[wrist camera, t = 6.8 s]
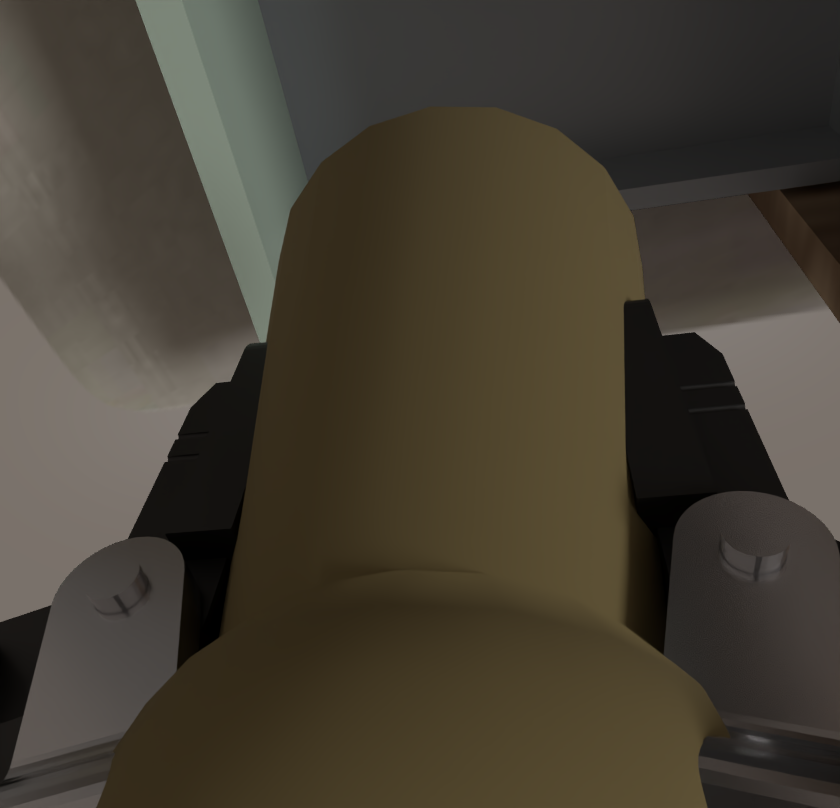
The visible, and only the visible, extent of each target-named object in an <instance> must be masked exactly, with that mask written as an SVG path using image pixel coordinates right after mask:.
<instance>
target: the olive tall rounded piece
mask: <svg viewBox="0 0 840 808" xmlns="http://www.w3.org/2000/svg"><path fill="white" fill-rule="evenodd" d="M642 299H645V294H644V281H643V269H642V263H641V257H640V251H639V245H638V239H637V233H636V227H635V222H634V216H633V214H632V213H631V211H630V209H629V208H628V206H627V204H626V203H625V201H624V199H623V198H622V196H621V194H620V192H619V191H618V189H617V187H616V186H615V184H614V182H613V181H612V179H611V177H610V176H609V174H608V172H607V171H606V169H605V167H604V166H602V165H601V164H600V163H599V162H597V161H596V160H595V159H594V158H592V157H591V156H590V155H589V154H587V153H586V152H585V151H584V150H583V149H581V148H580V147H579V146H578V145H576V144H575V143H574V142H573V141H571V140H570V139H569V138H568V137H566V136H565V135H564V134H563V133H561V132H560V131H559V130H558V129H556V128H553V127H550V126H547V125H545V124H542V123H539V122H536V121H533V120H530V119H528V118H525V117H522V116H519V115H516V114H513V113H511V112H508V111H505V110H502V109H499V108H497V107H432V106H430V107H427V108H424V109H421V110H418V111H415V112H412V113H409V114H406V115H402V116H399V117H396V118H393V119H390V120H387V121H384V122H381V123H377V124H374V125H371V126H369V127H368V128H366V129H365V130H364V131H362V132H361V133H360V134H358V135H357V136H356V137H354V138H353V139H352V140H350V141H349V142H348V143H346V144H345V145H344V146H342V147H341V148H340V149H338V150H337V151H336V152H334V153H333V154H332V155H330V156H329V157H328V158H326V159H325V160H324V161H322V162H321V163H320V165H319V166H318V168H317V169H316V171H315V172H314V174H313V176H312V177H311V179H310V180H309V182H308V183H307V185H306V186H305V188H304V189H303V191H302V192H301V194H300V195H299V197H298V198H297V200H296V201H295V203H294V205H293V206H292V208H291V209H290V213H289V218H288V222H287V227H286V231H285V235H284V240H283V244H282V249H281V253H280V258H279V263H278V269H277V275H276V282H275V288H274V294H273V300H272V307H271V313H270V319H269V325H268V332H267V338H266V342H268V344H267V351H266V358H265V365H264V371H263V378H262V384H261V391H260V398H259V404H258V411H257V418H256V424H255V431H254V438H253V444H252V451H251V457H250V464H249V471H248V477H247V484H246V490H245V495H244V501H243V507H242V513H241V518H240V524H239V530H238V536H237V541H236V545H235V549H234V553H233V557H232V561H231V565H230V571H229V576H228V582H227V589H226V595H225V601H224V607H223V614H222V620H221V626H220V632H219V638H218V639H216V640H215V641H213V642H212V643H210V644H209V645H208V646H206V647H205V648H203V649H202V650H200V651H199V652H197V653H196V654H194V655H193V656H191V657H190V658H189V659H188V660H187V661H186V662H185V663H184V664H183V665H182V666H181V667H180V668H179V669H178V670H177V671H176V672H175V673H174V675H173V676H172V677H171V678H170V679H169V680H168V681H167V682H166V683H165V684H164V685H163V686H162V687H161V688H160V689H159V690H158V691H157V692H156V693H155V694H154V695H153V697H152V698H151V699H150V700H149V701H148V702H147V703H146V704H145V706H144V707H143V708H142V710H141V711H140V713H139V714H138V716H137V717H136V719H135V720H134V721H133V723H132V724H131V726H130V727H129V729H128V730H127V732H126V733H125V734H124V736H123V737H122V739H121V740H120V742H119V743H118V745H117V746H116V747H115V749H114V750H113V752H115V755H114V757H113V759H112V763H111V768H110V772H109V775H108V778H107V781H106V784H105V787H104V789H103V792H102V795H101V797H100V799H99V802H98V804H97V807H96V808H708V807H707V803H706V800H705V796H704V792H703V788H702V784H701V779H700V774H699V768H698V755H699V752H700V748H701V746H702V744H703V740H704V739H705V738H706V737H707V736H712V735H715V736H721V737H726V738H730V735H729V733H728V730H727V728H726V726H725V724H724V723H723V721H722V719H721V717H720V715H719V714H718V712H717V710H716V708H715V707H714V705H713V703H712V702H711V700H710V698H709V696H708V695H707V693H706V691H705V690H704V688H703V687H702V686H701V685H700V684H699V683H698V682H697V681H696V680H695V679H693V678H692V677H691V676H690V675H688V674H687V673H686V672H685V671H683V670H682V669H681V668H680V667H678V666H677V665H676V664H675V663H673V662H672V661H671V660H669V659H668V658H666V657H665V656H664V644H665V632H666V620H667V606H666V598H665V590H664V582H663V575H662V567H661V559H660V552H659V547H658V542H657V538H656V537H655V536H654V535H653V533H652V532H651V531H650V529H649V528H648V527H647V525H646V524H645V523H644V522H643V520H642V519H641V518H640V516H639V515H638V514H637V510H636V505H635V499H634V493H633V488H632V482H631V477H630V471H629V465H628V460H627V454H626V445H625V371H624V303H625V302H626V301H633V300H642ZM113 752H112V753H113Z"/></svg>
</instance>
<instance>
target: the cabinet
mask: <svg viewBox="0 0 840 808" xmlns="http://www.w3.org/2000/svg"><path fill="white" fill-rule="evenodd" d="M748 195H749V196H750V198H751V199H752V201H753V202H754V203H755V205H756V206H757V208H758V209H759V210H760V212H761V213H762V215H763V216H764V217H765V219H766V220H767V222H768V223H769V224H770V226H771V227H772V229H773V230H774V231H775V233H776V234H777V236H778V237H779V238H780V240H781V241H782V243H783V244H784V245H785V247H786V248H787V250H788V251H789V252H790V254H791V255H792V257H793V258H794V259H795V261H796V262H797V264H798V265H799V266H800V268H801V269H802V271H803V272H804V273H805V275H806V276H807V278H808V279H809V280H810V282H811V283H812V285H813V286H814V288H815V289H816V290H817V292H818V293H819V295H820V296H821V297H822V299H823V300H824V302H825V303H826V304H827V306H828V307H829V309H830V310H831V311H832V313H833V314H834V316H835V317H836V318H837V320H838V321H839V323H840V181H837V182H830V183H823V184H816V185H809V186H802V187H794V188H787V189H780V190H773V191H766V192H759V193H752V194H748Z"/></svg>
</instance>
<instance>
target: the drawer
mask: <svg viewBox="0 0 840 808" xmlns="http://www.w3.org/2000/svg"><path fill="white" fill-rule="evenodd" d="M136 3H137V6H138V9H139V11H140V14H141V17H142V20H143V22H144V25H145V28H146V31H147V33H148V36H149V39H150V42H151V44H152V47H153V50H154V53H155V55H156V58H157V61H158V64H159V66H160V69H161V72H162V75H163V77H164V80H165V83H166V86H167V88H168V91H169V94H170V97H171V99H172V102H173V105H174V108H175V110H176V113H177V116H178V119H179V121H180V124H181V127H182V130H183V132H184V135H185V138H186V141H187V143H188V146H189V149H190V152H191V154H192V157H193V160H194V163H195V165H196V168H197V171H198V173H199V176H200V179H201V182H202V184H203V187H204V190H205V193H206V195H207V198H208V201H209V204H210V206H211V209H212V212H213V215H214V217H215V220H216V223H217V226H218V228H219V231H220V234H221V237H222V239H223V242H224V245H225V248H226V250H227V253H228V256H229V259H230V261H231V264H232V267H233V270H234V272H235V275H236V278H237V281H238V283H239V286H240V289H241V292H242V294H243V297H244V300H245V303H246V305H247V308H248V311H249V314H250V316H251V319H252V322H253V325H254V327H255V330H256V333H257V336H258V338H259V341H260V343H263V342H266V338H267V332H268V325H269V319H270V313H271V307H272V300H273V294H274V288H275V282H276V275H277V269H278V263H279V258H280V253H281V249H282V244H283V240H284V235H285V231H286V227H287V222H288V218H289V213H290V209H291V208H292V206H293V205H294V203H295V201H296V200H297V198H298V197H299V195H300V194H301V192H302V191H303V189H304V188H305V186H306V185H307V183H308V182H309V180H310V179H311V177H312V176H313V174H314V172H315V171H316V169H317V168H318V166H319V165H320V163H321V162H322V161H324V160H325V159H326V158H328V157H329V156H330V155H332V154H333V153H334V152H336V151H337V150H338V149H340V148H341V147H342V146H344V145H345V144H346V143H348V142H349V141H350V140H352V139H353V138H354V137H356V136H357V135H358V134H360V133H361V132H362V131H364V130H365V129H366V128H368V127H369V126H371V125H374V124H377V123H381V122H384V121H387V120H390V119H393V118H396V117H399V116H402V115H406V114H409V113H412V112H415V111H418V110H421V109H424V108H427V107H430V106H432V107H497V108H499V109H502V110H505V111H508V112H511V113H513V114H516V115H519V116H522V117H525V118H528V119H530V120H533V121H536V122H539V123H542V124H545V125H547V126H550V127H553V128H556V129H558V130H559V131H560V132H561V133H563V134H564V135H565V136H566V137H568V138H569V139H570V140H571V141H573V142H574V143H575V144H576V145H578V146H579V147H580V148H581V149H583V150H584V151H585V152H586V153H587V154H589V155H590V156H591V157H592V158H594V159H595V160H596V161H597V162H599V163H600V164H601V165H602V166H604V167H605V169H606V171H607V172H608V174H609V176H610V177H611V179H612V181H613V182H614V184H615V186H616V187H617V189H618V191H619V192H620V194H621V196H622V198H623V199H624V201H625V203H626V204H627V206H628V208H629V209H630V211H631V210H638V209H645V208H652V207H659V206H666V205H673V204H680V203H688V202H695V201H702V200H709V199H716V198H723V197H730V196H737V195H745V194H752V193H759V192H766V191H773V190H780V189H787V188H794V187H802V186H809V185H816V184H823V183H830V182H837V181H840V0H136Z"/></svg>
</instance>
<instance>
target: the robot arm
mask: <svg viewBox="0 0 840 808" xmlns="http://www.w3.org/2000/svg"><path fill="white" fill-rule="evenodd" d="M267 344H268V342H263V343H254V344H249V345H247V346H246V348H245V350H244V352H243V354H242V356H241V359H240V361H239V363H238V366H237V368H236V370H235V373H234V375H233V377H232V379H231V382H223V383H216V384H215V385H214V386H213V387H212V388H211V389H210V390H209V391H207V392H206V393H205V394H204V395H203V396H202V397H201V398H200V399H199V400H198V401H197V402H196V403H195V404H194V405H193V406H192V407H191V408H190V410H189V413H188V415H187V417H186V419H185V421H184V423H183V425H182V427H181V429H180V431H179V433H178V436H179V439H178V440H175V442H174V444H173V446H172V448H171V450H170V452H169V454H168V462H165V463H164V465H163V467H162V469H161V471H160V473H159V475H158V477H157V479H156V481H155V484H154V486H153V488H152V490H151V492H150V494H149V496H148V498H147V500H146V502H145V504H144V506H143V508H142V511H141V513H140V515H139V517H138V519H137V521H136V523H135V525H134V527H133V529H132V531H131V533H130V536H129V538H128V539H126V540H123V541H120V542H117V543H114V544H112V545H109V546H107V547H105V548H103V549H101V550H99V551H98V552H96V553H94V554H93V555H91V556H90V557H89V558H87V559H86V560H84V561H83V562H82V563H81V564H79V565H78V566H77V567H76V568H75V569H74V570H73V571H72V572H71V573H70V574H69V575H68V576H67V577H66V579H65V580H64V581H63V583H62V584H61V585H60V587H59V589H58V591H57V593H56V594H55V597H54V599H53V602H52V605H51V606H48V607H45V608H42V609H39V610H36V611H33V612H30V613H27V614H24V615H21V616H18V617H15V618H12V619H9V620H6V621H3V622H0V808H96V807H97V804H98V802H99V799H100V797H101V795H102V792H103V789H104V787H105V784H106V781H107V778H108V775H109V772H110V768H111V763H112V759H113V757H114V755H115V752H113V750H114V749H115V747H116V746H117V745H118V743H119V742H120V740H121V739H122V737H123V736H124V734H125V733H126V732H127V730H128V729H129V727H130V726H131V724H132V723H133V721H134V720H135V719H136V717H137V716H138V714H139V713H140V711H141V710H142V708H143V707H144V706H145V704H146V703H147V702H148V701H149V700H150V699H151V698H152V697H153V695H154V694H155V693H156V692H157V691H158V690H159V689H160V688H161V687H162V686H163V685H164V684H165V683H166V682H167V681H168V680H169V679H170V678H171V677H172V676H173V675H174V673H175V672H176V671H177V670H178V669H179V668H180V667H181V666H182V665H183V664H184V663H185V662H186V661H187V660H188V659H189V658H190V657H191V656H193V655H194V654H196V653H197V652H199V651H200V650H202V649H203V648H205V647H206V646H208V645H209V644H210V643H212V642H213V641H215V640H216V639H218V638H219V632H220V626H221V620H222V614H223V607H224V601H225V595H226V589H227V582H228V576H229V571H230V565H231V561H232V557H233V553H234V549H235V545H236V541H237V536H238V530H239V524H240V518H241V513H242V507H243V501H244V495H245V490H246V484H247V477H248V471H249V464H250V457H251V451H252V444H253V438H254V431H255V424H256V418H257V411H258V404H259V398H260V391H261V384H262V378H263V371H264V365H265V358H266V351H267ZM624 371H625V445H626V454H627V460H628V465H629V471H630V477H631V482H632V488H633V493H634V499H635V505H636V510H637V514H638V515H639V516H640V518H641V519H642V520H643V522H644V523H645V524H646V525H647V527H648V528H649V529H650V531H651V532H652V533H653V535H654V536H655V537H656V538H657V542H658V547H659V552H660V559H661V567H662V575H663V582H664V590H665V598H666V606H667V620H666V632H665V644H664V656H665V657H666V658H668V659H669V660H671V661H672V662H673V663H675V664H676V665H677V666H678V667H680V668H681V669H682V670H683V671H685V672H686V673H687V674H688V675H690V676H691V677H692V678H693V679H695V680H696V681H697V682H698V683H699V684H700V685H701V686H702V687H703V688H704V690H705V691H706V693H707V695H708V696H709V698H710V700H711V702H712V703H713V705H714V707H715V708H716V710H717V712H718V714H719V715H720V717H721V719H722V721H723V723H724V724H725V726H726V728H727V730H728V733H729V735H730V738H726V737H721V736H715V735H712V736H707V737H706V738H705V739H704V740H703V744H702V746H701V748H700V752H699V755H698V768H699V774H700V779H701V784H702V788H703V792H704V796H705V800H706V803H707V807H708V808H840V542H839V541H837V540H835V539H834V537H833V535H832V534H831V532H830V531H829V530H828V528H827V527H826V526H825V524H824V523H823V522H821V521H820V520H819V519H818V518H817V517H816V516H815V515H814V514H812V513H811V512H809V511H807V510H806V509H805V508H803V507H801V506H799V505H797V504H796V503H794V502H792V501H789V499H788V497H787V496H786V493H785V491H784V489H783V487H782V485H781V482H780V480H779V478H778V476H777V473H776V471H775V469H774V467H773V465H772V462H771V460H770V458H769V456H768V454H767V451H766V449H765V447H764V445H763V442H762V440H761V438H760V436H759V434H758V432H757V429H756V427H755V425H754V423H753V421H752V418H751V416H750V414H749V412H748V410H747V409H745V403H744V401H743V399H742V396H741V394H740V392H739V390H738V388H737V386H735V383H734V379H733V376H732V374H731V372H730V370H729V367H728V365H727V363H726V361H725V359H724V356H723V354H722V353H721V352H719V351H718V350H717V349H715V348H714V347H713V346H712V345H710V344H709V343H708V342H706V341H705V340H704V339H703V338H701V337H700V336H699V335H697V334H696V333H695V332H693V333H684V334H675V335H665V336H662V334H661V331H660V328H659V326H658V323H657V320H656V317H655V314H654V311H653V309H652V306H651V303H650V301H649V300H648V299H642V300H633V301H626V302H625V303H624ZM112 752H113V753H112Z"/></svg>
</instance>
